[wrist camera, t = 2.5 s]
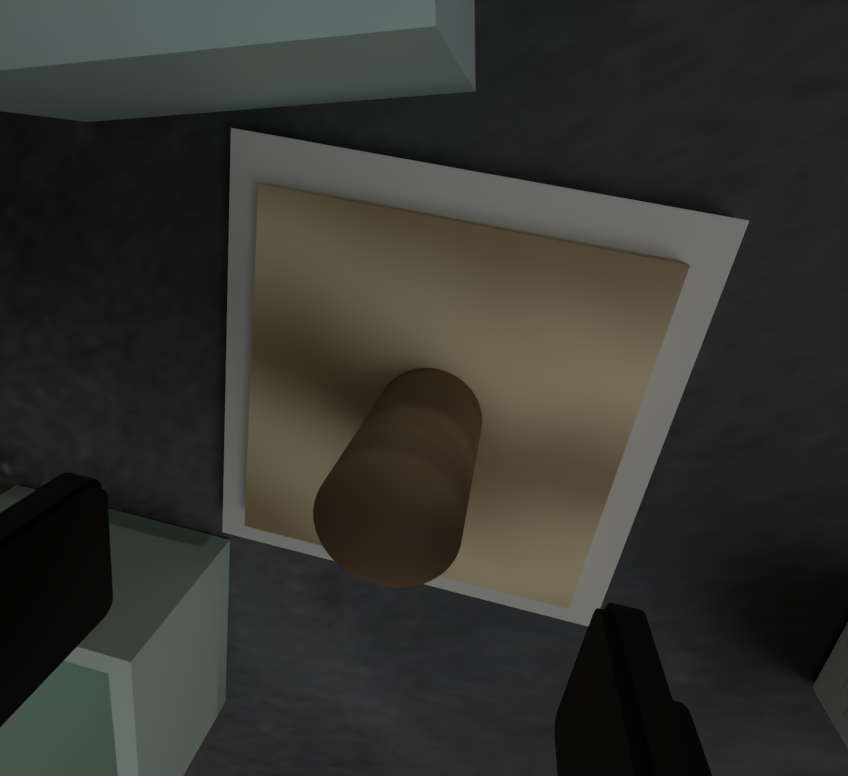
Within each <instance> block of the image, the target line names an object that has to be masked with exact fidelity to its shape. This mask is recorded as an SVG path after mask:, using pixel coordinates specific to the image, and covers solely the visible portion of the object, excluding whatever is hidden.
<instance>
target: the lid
mask: <svg viewBox="0 0 848 776" xmlns="http://www.w3.org/2000/svg"><path fill="white" fill-rule="evenodd" d="M689 267H690V265H689V264H687V263H685V262H683V261H681V260H675V259H670V258H665V257H659V256H654V255H649V254H644V253H638V252H633V251H628V250H622V249H617V248H612V247H606V246H601V245H596V244H590V243H585V242H580V241H575V240H569V239H564V238H559V237H553V236H548V235H543V234H537V233H532V232H527V231H522V230H516V229H511V228H506V227H500V226H495V225H490V224H484V223H479V222H474V221H469V220H463V219H458V218H453V217H447V216H442V215H437V214H431V213H426V212H421V211H415V210H410V209H405V208H400V207H394V206H389V205H384V204H378V203H373V202H368V201H362V200H357V199H352V198H347V197H341V196H336V195H331V194H325V193H320V192H315V191H309V190H304V189H299V188H293V187H288V186H283V185H278V184H272V183H264V184H258V203H257V227H256V252H255V277H254V302H253V326H252V351H251V376H250V400H249V425H248V450H247V475H246V499H245V524H244V526H247V527H251V528H255V529H258V530H262V531H266V532H270V533H274V534H278V535H282V536H286V537H290V538H294V539H298V540H301V541H305V542H309V543H313V544H317V545H321V546H323V547H324V549H325V550H326V552H327V553H328V554H329V556H330V557H331V558H332V559H333V560H334V561H335V562H336V563H337V564H338V565H339V566H341V567H342V568H343V569H344V570H346V571H347V572H349V573H350V574H352V575H354V576H355V577H357V578H359V579H361V580H364V581H366V582H369V583H372V584H375V585H379V586H384V587H393V588H405V587H413V586H417V585H422V584H424V583H427V582H430V581H431V580H433V579H435V578H437V577H438V576H442V577H446V578H450V579H454V580H458V581H462V582H466V583H470V584H473V585H477V586H481V587H485V588H489V589H493V590H497V591H501V592H505V593H509V594H513V595H516V596H520V597H524V598H528V599H532V600H536V601H540V602H544V603H548V604H552V605H556V606H559V607H563V608H567V609H568V608H569V606H570V603H571V600H572V597H573V594H574V592H575V589H576V586H577V583H578V580H579V577H580V575H581V572H582V569H583V566H584V563H585V561H586V558H587V555H588V552H589V549H590V546H591V544H592V541H593V538H594V535H595V532H596V530H597V527H598V524H599V521H600V518H601V515H602V513H603V510H604V507H605V504H606V501H607V499H608V496H609V493H610V490H611V487H612V484H613V482H614V479H615V476H616V473H617V470H618V468H619V465H620V462H621V459H622V456H623V453H624V451H625V448H626V445H627V442H628V439H629V436H630V434H631V431H632V428H633V425H634V422H635V420H636V417H637V414H638V411H639V408H640V405H641V403H642V400H643V397H644V394H645V391H646V389H647V386H648V383H649V380H650V377H651V374H652V372H653V369H654V366H655V363H656V360H657V358H658V355H659V352H660V349H661V346H662V343H663V341H664V338H665V335H666V332H667V329H668V327H669V324H670V321H671V318H672V315H673V312H674V310H675V307H676V304H677V301H678V298H679V296H680V293H681V290H682V287H683V284H684V281H685V279H686V276H687V273H688V270H689Z"/></svg>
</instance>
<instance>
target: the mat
mask: <svg viewBox="0 0 848 776" xmlns="http://www.w3.org/2000/svg"><path fill="white" fill-rule="evenodd" d="M264 183H272V184H278V185H283V186H288V187H293V188H299V189H304V190H309V191H315V192H320V193H325V194H331V195H336V196H341V197H347V198H352V199H357V200H362V201H368V202H373V203H378V204H384V205H389V206H394V207H400V208H405V209H410V210H415V211H421V212H426V213H431V214H437V215H442V216H447V217H453V218H458V219H463V220H469V221H474V222H479V223H484V224H490V225H495V226H500V227H506V228H511V229H516V230H522V231H527V232H532V233H537V234H543V235H548V236H553V237H559V238H564V239H569V240H575V241H580V242H585V243H590V244H596V245H601V246H606V247H612V248H617V249H622V250H628V251H633V252H638V253H644V254H649V255H654V256H659V257H665V258H670V259H675V260H681V261H683V262H685V263H687V264H689V265H690V267H689V270H688V273H687V276H686V279H685V281H684V284H683V287H682V290H681V293H680V296H679V298H678V301H677V304H676V307H675V310H674V312H673V315H672V318H671V321H670V324H669V327H668V329H667V332H666V335H665V338H664V341H663V343H662V346H661V349H660V352H659V355H658V358H657V360H656V363H655V366H654V369H653V372H652V374H651V377H650V380H649V383H648V386H647V389H646V391H645V394H644V397H643V400H642V403H641V405H640V408H639V411H638V414H637V417H636V420H635V422H634V425H633V428H632V431H631V434H630V436H629V439H628V442H627V445H626V448H625V451H624V453H623V456H622V459H621V462H620V465H619V468H618V470H617V473H616V476H615V479H614V482H613V484H612V487H611V490H610V493H609V496H608V499H607V501H606V504H605V507H604V510H603V513H602V515H601V518H600V521H599V524H598V527H597V530H596V532H595V535H594V538H593V541H592V544H591V546H590V549H589V552H588V555H587V558H586V561H585V563H584V566H583V569H582V572H581V575H580V577H579V580H578V583H577V586H576V589H575V592H574V594H573V597H572V600H571V603H570V606H569V608H568V609H567V608H563V607H559V606H556V605H552V604H548V603H544V602H540V601H536V600H532V599H528V598H524V597H520V596H516V595H513V594H509V593H505V592H501V591H497V590H493V589H489V588H485V587H481V586H477V585H473V584H470V583H466V582H462V581H458V580H454V579H450V578H446V577H442V576H438V577H437V578H435V579H433V580H431V581H430V582H427V583H424V584H426V585H429V586H433V587H437V588H441V589H445V590H449V591H453V592H457V593H460V594H464V595H468V596H472V597H476V598H480V599H484V600H488V601H491V602H495V603H499V604H503V605H507V606H511V607H515V608H519V609H522V610H526V611H530V612H534V613H538V614H542V615H546V616H550V617H553V618H557V619H561V620H565V621H569V622H573V623H577V624H581V625H584V626H589V624H590V621H591V618H592V615H593V613H594V611H595V610H596V608H599V609H600V607H601V605H602V602H603V599H604V597H605V594H606V592H607V589H608V586H609V584H610V581H611V579H612V576H613V573H614V571H615V568H616V566H617V563H618V560H619V558H620V555H621V553H622V550H623V547H624V545H625V542H626V540H627V537H628V534H629V532H630V529H631V527H632V524H633V521H634V519H635V516H636V514H637V511H638V508H639V506H640V503H641V501H642V498H643V495H644V493H645V490H646V488H647V485H648V482H649V480H650V477H651V475H652V472H653V470H654V467H655V464H656V462H657V459H658V457H659V454H660V451H661V449H662V446H663V444H664V441H665V438H666V436H667V433H668V431H669V428H670V425H671V423H672V420H673V418H674V415H675V412H676V410H677V407H678V405H679V402H680V399H681V397H682V394H683V392H684V389H685V386H686V384H687V381H688V379H689V376H690V373H691V371H692V368H693V366H694V363H695V360H696V358H697V355H698V353H699V350H700V347H701V345H702V342H703V340H704V337H705V334H706V332H707V329H708V327H709V324H710V321H711V319H712V316H713V314H714V311H715V308H716V306H717V303H718V301H719V298H720V295H721V293H722V290H723V288H724V285H725V282H726V280H727V277H728V275H729V272H730V269H731V267H732V264H733V262H734V259H735V256H736V254H737V251H738V249H739V246H740V243H741V241H742V238H743V236H744V233H745V230H746V228H747V225H748V223H749V221H748V220H743V219H738V218H733V217H727V216H721V215H716V214H710V213H705V212H699V211H693V210H688V209H682V208H677V207H671V206H666V205H660V204H654V203H649V202H643V201H638V200H632V199H626V198H621V197H615V196H610V195H604V194H599V193H593V192H587V191H582V190H576V189H571V188H565V187H560V186H554V185H548V184H543V183H537V182H532V181H526V180H520V179H515V178H509V177H504V176H498V175H493V174H487V173H481V172H476V171H470V170H465V169H459V168H453V167H448V166H442V165H437V164H431V163H426V162H420V161H414V160H409V159H403V158H398V157H392V156H387V155H381V154H375V153H370V152H364V151H359V150H353V149H347V148H342V147H336V146H331V145H325V144H320V143H314V142H308V141H303V140H297V139H292V138H286V137H280V136H275V135H269V134H264V133H258V132H253V131H247V130H241V129H234V128H231V149H230V197H229V244H228V292H227V340H226V387H225V435H224V482H223V530H222V532H224V533H228V534H232V535H236V536H240V537H243V538H247V539H251V540H255V541H259V542H263V543H267V544H271V545H274V546H278V547H282V548H286V549H290V550H294V551H298V552H302V553H305V554H309V555H313V556H317V557H321V558H325V559H329V560H333V559H332V558H331V557H330V556H329V554H328V553H327V552H326V550H325V549H324V547H323V546H321V545H317V544H313V543H309V542H305V541H301V540H298V539H294V538H290V537H286V536H282V535H278V534H274V533H270V532H266V531H262V530H258V529H255V528H251V527H247V526H244V524H245V499H246V475H247V450H248V425H249V400H250V376H251V351H252V326H253V302H254V277H255V252H256V227H257V203H258V184H264ZM333 561H334V560H333Z"/></svg>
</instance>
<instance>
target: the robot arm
mask: <svg viewBox="0 0 848 776" xmlns="http://www.w3.org/2000/svg"><path fill="white" fill-rule="evenodd" d="M112 602H113V585H112V567H111V550H110V532H109V514H108V497H107V492H106V491H105V490H104V489H102V487H101V484H100V482H99V481H98V480H96V479H93V478H88V477H84V476H80V475H76V474H72V473H64V474H61V475H59V476H57V477H56V478H54V479H53V480H51V481H50V482H48V483H46V484H45V485H43V486H42V487H40V488H39V489H37V490H35V491H34V492H32V493H31V494H29V495H27V496H26V497H24V498H23V499H21V500H20V501H18V502H16V503H15V504H13V505H12V506H10V507H9V508H7V509H5V510H4V511H2V512H1V513H0V727H1V726H2V725H3V724H4V723H5V722H6V721H7V720H8V719H9V718H10V717H11V716H12V715H13V714H14V712H15V711H16V710H17V709H18V708H19V707H20V706H21V705H22V704H23V703H24V702H25V701H26V700H27V699H28V698H29V697H30V696H31V695H32V694H33V692H34V691H35V690H36V689H37V688H38V687H39V686H40V685H41V684H42V683H43V682H44V681H45V680H46V679H47V678H48V677H49V676H50V675H51V673H52V672H53V671H54V670H55V669H56V668H57V667H58V666H59V665H60V664H61V663H62V662H63V661H64V660H65V659H66V658H67V657H68V656H69V654H70V653H71V652H72V651H73V650H74V649H75V648H76V647H77V646H78V645H79V644H80V643H81V642H82V641H83V640H84V639H85V638H86V637H87V636H88V634H89V633H90V632H91V631H92V630H93V629H94V628H95V627H96V626H97V625H98V624H99V623H100V622H101V621H102V620H103V619H104V617H105V616H106V615H107V613H108V612H109V610H110V608H111V605H112ZM555 746H556V759H557V771H558V776H712V775H711V772H710V769H709V766H708V763H707V760H706V757H705V754H704V751H703V748H702V745H701V743H700V740H699V737H698V734H697V731H696V728H695V725H694V722H693V719H692V717H691V715H690V713H689V710H688V709H687V707H686V706H685V705H684V704H683V703H680V702H677V701H673V700H672V697H671V694H670V690H669V687H668V684H667V681H666V678H665V675H664V671H663V668H662V665H661V662H660V659H659V656H658V653H657V649H656V646H655V643H654V640H653V637H652V634H651V630H650V627H649V624H648V621H647V618H646V615H645V613H644V612H643V611H642V610H640V609H636V608H631V607H627V606H623V605H619V604H615V603H608V604H607V605H606V607H605V609H604V610H603V609H599V608H596V610H595V611H594V613H593V615H592V618H591V621H590V624H589V626H588V629H587V632H586V635H585V637H584V640H583V643H582V645H581V648H580V651H579V654H578V656H577V659H576V662H575V665H574V667H573V670H572V673H571V675H570V678H569V681H568V684H567V686H566V689H565V692H564V695H563V697H562V700H561V703H560V705H559V708H558V711H557V714H556V720H555Z"/></svg>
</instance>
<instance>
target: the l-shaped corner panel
mask: <svg viewBox="0 0 848 776" xmlns="http://www.w3.org/2000/svg"><path fill="white" fill-rule="evenodd" d="M474 91H475V10H474V0H0V111H3V112H11V113H19V114H27V115H36V116H44V117H52V118H60V119H68V120H76V121H85V122H93V121H106V120H118V119H131V118H144V117H157V116H169V115H182V114H195V113H207V112H220V111H233V110H245V109H258V108H271V107H283V106H296V105H309V104H322V103H334V102H347V101H360V100H372V99H385V98H398V97H410V96H423V95H436V94H449V93H461V92H474Z"/></svg>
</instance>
